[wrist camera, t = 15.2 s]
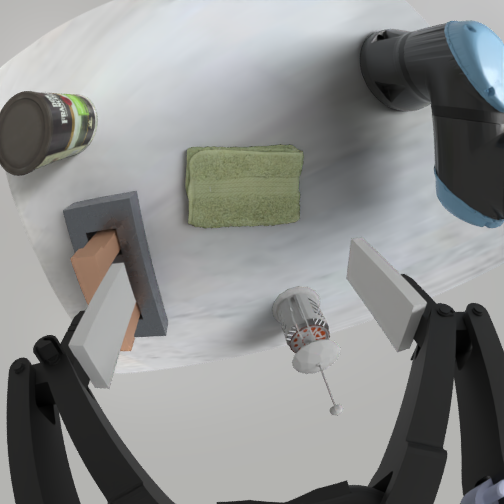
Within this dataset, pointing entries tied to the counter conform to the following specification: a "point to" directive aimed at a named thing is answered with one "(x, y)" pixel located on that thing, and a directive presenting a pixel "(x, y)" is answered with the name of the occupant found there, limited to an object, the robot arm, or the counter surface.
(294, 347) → the french press
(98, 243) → the staple
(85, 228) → the grey slotted base block
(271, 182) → the washcloth
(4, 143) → the coffee can
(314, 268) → the counter surface
